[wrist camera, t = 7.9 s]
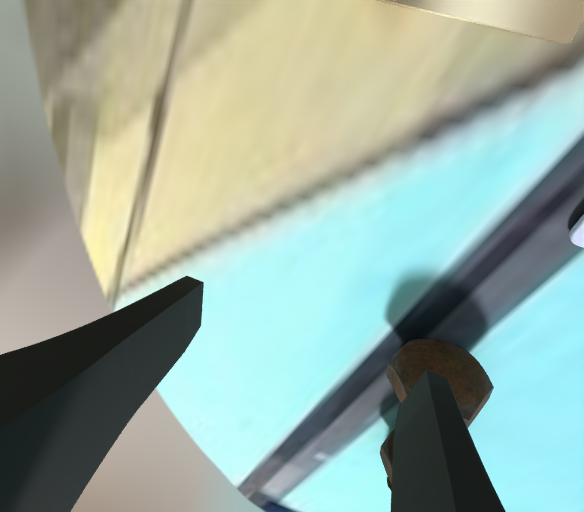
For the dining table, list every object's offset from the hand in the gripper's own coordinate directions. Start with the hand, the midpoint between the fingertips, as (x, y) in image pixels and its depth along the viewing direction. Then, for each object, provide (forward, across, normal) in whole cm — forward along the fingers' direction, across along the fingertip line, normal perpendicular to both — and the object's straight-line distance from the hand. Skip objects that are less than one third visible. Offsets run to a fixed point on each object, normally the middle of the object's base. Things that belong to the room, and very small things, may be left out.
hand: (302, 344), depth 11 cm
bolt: (+11, -10, +14) cm, 20 cm away
